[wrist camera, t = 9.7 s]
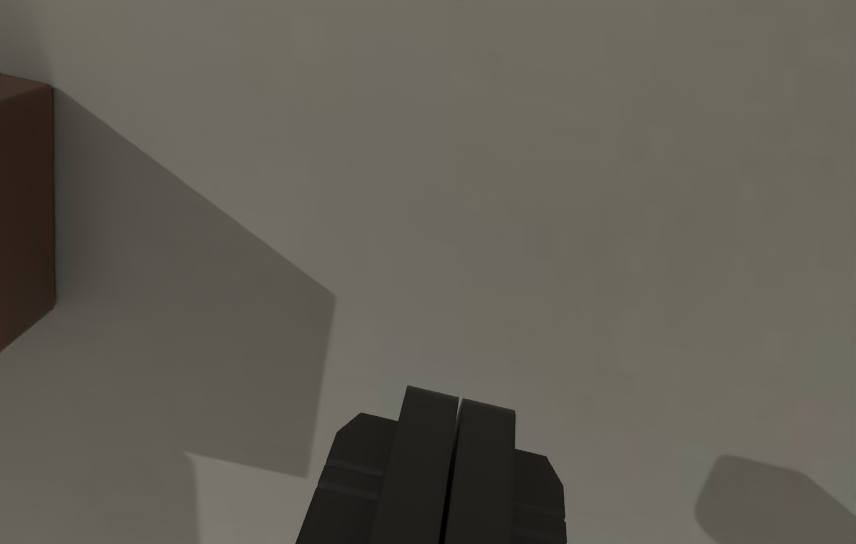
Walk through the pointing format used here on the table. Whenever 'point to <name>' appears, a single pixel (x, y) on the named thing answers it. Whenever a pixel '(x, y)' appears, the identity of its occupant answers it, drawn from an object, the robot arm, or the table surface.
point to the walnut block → (25, 206)
